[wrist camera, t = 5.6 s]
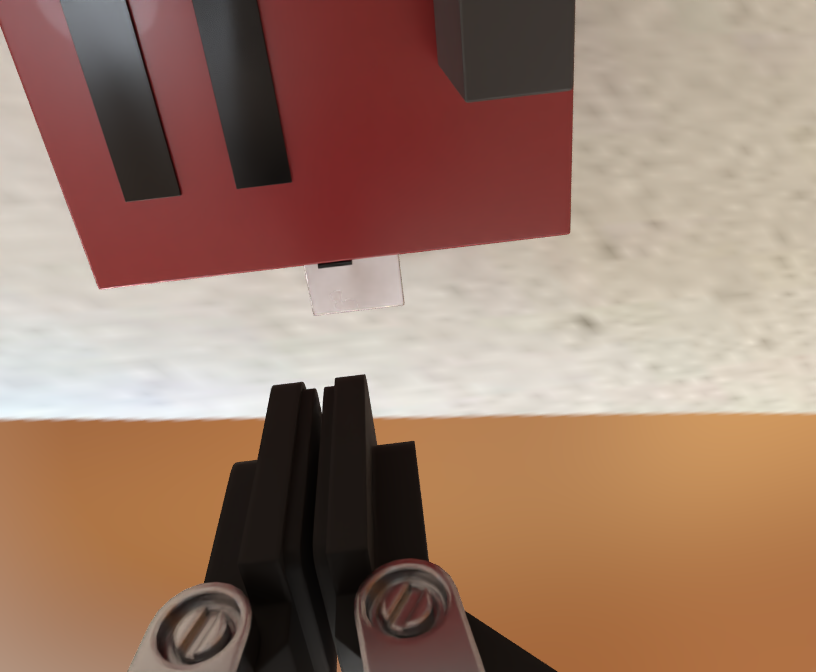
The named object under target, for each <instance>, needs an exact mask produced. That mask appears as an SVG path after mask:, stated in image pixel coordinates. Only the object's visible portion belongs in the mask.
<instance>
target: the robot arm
mask: <svg viewBox="0 0 816 672" xmlns="http://www.w3.org/2000/svg"><path fill="white" fill-rule="evenodd" d="M337 656H338V660H339V664H340V667H341V671H342V672H557V671H556V670H554V669H553V668H551V667H549V666H548V665H547V664H545V663H543V662H542V661H540V660H539V659H537V658H536V657H534V656H533V655H531V654H530V653H528V652H527V651H525V650H524V649H522V648H521V647H519V646H518V645H516V644H515V643H513V642H512V641H510V640H508V639H507V638H505V637H504V636H502V635H501V634H499V633H498V632H496V631H495V630H493V629H492V628H490V627H489V626H487V625H486V624H484V623H483V622H481V621H479V620H478V619H477V618H475V617H474V616H472V615H470V614H469V613H467V612H466V611H465V610H464V608H463V605H462V602H461V599H460V596H459V593H458V590H457V588H456V585H455V584H454V582H453V580H452V578H451V577H450V575H449V574H448V573H446V572H445V571H444V570H443V569H442V568H441V567H439V566H438V565H436V564H433V563H431V562H429V559H428V550H427V542H426V534H425V525H424V516H423V507H422V499H421V491H420V482H419V475H418V466H417V458H416V450H415V442H414V441H409V442H401V443H393V444H385V445H377V441H376V435H375V429H374V423H373V416H372V410H371V404H370V398H369V392H368V385H367V380H366V376H365V374H364V375H355V376H347V377H339V378H335V385H334V386H331V387H325V388H324V395H323V409H322V412H321V407H320V402H319V398H318V393H317V390H316V389H315V388H314V389H306V387H305V384H304V383H303V382H297V383H289V384H281V385H273V386H272V388H271V393H270V398H269V403H268V408H267V413H266V418H265V423H264V429H263V434H262V439H261V445H260V449H259V454H258V460H253V461H244V462H237V463H235V464H234V465H233V467H232V470H231V473H230V477H229V481H228V485H227V489H226V494H225V498H224V502H223V506H222V510H221V514H220V518H219V523H218V527H217V531H216V535H215V540H214V544H213V548H212V552H211V556H210V560H209V564H208V569H207V573H206V577H205V581H204V583H203V584H199V585H196V586H194V587H191V588H188V589H186V590H184V591H182V592H181V593H179V594H178V595H176V596H175V597H173V598H171V599H170V600H169V601H168V602H167V603H166V604H165V605H164V606H163V607H162V608H161V609H160V610H159V611H158V612H157V614H156V615H155V617H154V618H153V620H152V621H151V623H150V625H149V627H148V629H147V631H146V633H145V635H144V637H143V639H142V642H141V644H140V646H139V648H138V650H137V652H136V654H135V656H134V659H133V661H132V663H131V665H130V667H129V670H128V671H127V672H337Z"/></svg>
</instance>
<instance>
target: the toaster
mask: <svg viewBox="0 0 816 672" xmlns="http://www.w3.org/2000/svg"><path fill="white" fill-rule="evenodd" d="M0 26H1V29H2V31H3V34H4V37H5V39H6V42H7V45H8V48H9V50H10V53H11V56H12V58H13V61H14V64H15V66H16V69H17V72H18V74H19V77H20V80H21V82H22V85H23V88H24V90H25V93H26V96H27V98H28V101H29V104H30V106H31V109H32V112H33V114H34V117H35V120H36V122H37V125H38V128H39V130H40V133H41V136H42V139H43V141H44V144H45V147H46V149H47V152H48V155H49V157H50V160H51V163H52V165H53V168H54V171H55V173H56V176H57V179H58V181H59V184H60V187H61V189H62V192H63V195H64V197H65V200H66V203H67V205H68V208H69V211H70V213H71V216H72V219H73V222H74V224H75V227H76V230H77V232H78V235H79V238H80V240H81V243H82V246H83V248H84V251H85V254H86V256H87V259H88V262H89V264H90V267H91V270H92V272H93V275H94V278H95V280H96V283H97V286H98V288H99V289H109V288H118V287H126V286H135V285H143V284H152V283H160V282H169V281H177V280H186V279H194V278H203V277H211V276H219V275H228V274H236V273H245V272H253V271H262V270H270V269H279V268H287V267H296V266H304V265H313V264H318V269H321V268H330V267H338V266H347V265H352V261H353V260H355V259H363V258H372V257H380V256H389V255H397V254H406V253H414V252H423V251H431V250H440V249H448V248H456V247H465V246H473V245H482V244H490V243H499V242H507V241H516V240H524V239H533V238H541V237H550V236H558V235H567V234H569V233H570V220H571V176H572V131H573V89H572V90H570V91H564V92H555V93H547V94H538V95H530V96H521V97H513V98H504V99H496V100H487V101H479V102H470V103H467V102H465V101H464V99H463V98H462V96H461V95H460V94H459V92H458V91H457V90H456V88H455V87H454V86H453V84H452V83H451V81H450V80H449V79H448V77H447V76H446V75H445V73H444V72H443V70H442V69H441V68H440V66H439V65H438V58H437V44H436V30H435V17H434V3H433V0H0ZM574 42H575V32H574ZM573 87H574V77H573Z"/></svg>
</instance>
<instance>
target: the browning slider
mask: <svg viewBox="0 0 816 672" xmlns="http://www.w3.org/2000/svg"><path fill="white" fill-rule="evenodd" d="M433 3H434V17H435V30H436V44H437V58H438V65H439V66H440V68H441V69H442V70H443V72H444V73H445V75H446V76H447V77H448V79H449V80H450V81H451V83H452V84H453V86H454V87H455V88H456V90H457V91H458V92H459V94H460V95H461V96H462V98H463V99H464V101H465V102H467V103H470V102H479V101H487V100H496V99H504V98H513V97H521V96H530V95H538V94H547V93H555V92H564V91H570V90H572V89H573V77H574V32H575V0H433Z"/></svg>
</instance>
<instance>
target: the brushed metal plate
mask: <svg viewBox="0 0 816 672" xmlns="http://www.w3.org/2000/svg"><path fill="white" fill-rule="evenodd" d="M304 269H305V274H306V279H307V284H308V289H309V294H310V299H311V305H312V310H313V314H314V316H317V315H325V314H334V313H342V312H350V311H359V310H367V309H376V308H384V307H393V306H401V305H404V295H403V287H402V278H401V270H400V261H399V254H397V255H389V256H380V257H372V258H363V259H355V260H353V261H352V265H347V266H338V267H330V268H321V269H318V264H313V265H304Z"/></svg>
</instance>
